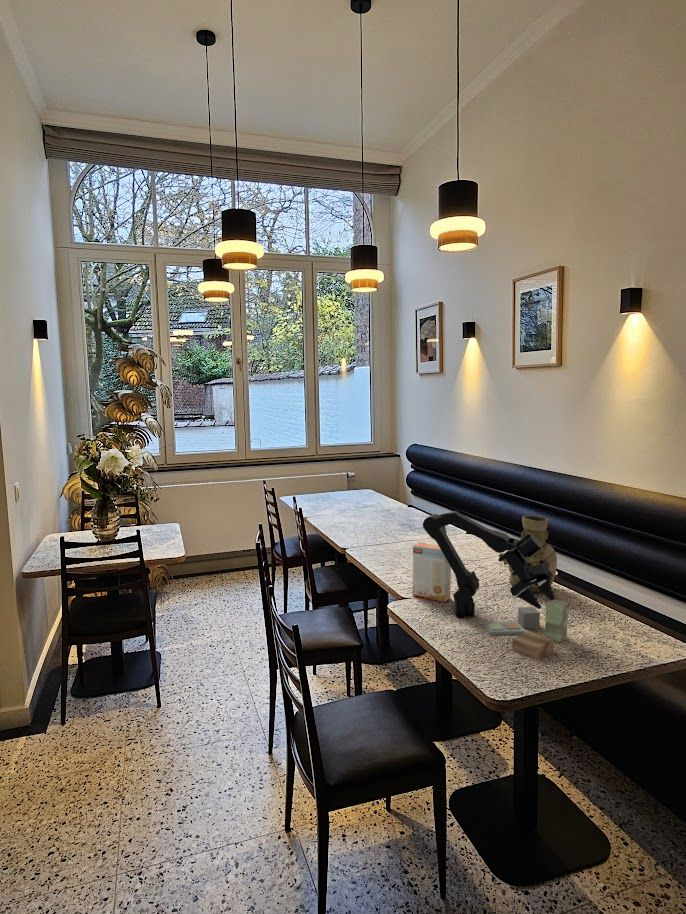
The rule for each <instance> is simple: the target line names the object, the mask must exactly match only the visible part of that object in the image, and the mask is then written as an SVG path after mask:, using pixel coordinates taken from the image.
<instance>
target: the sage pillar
mask: <svg viewBox="0 0 686 914" xmlns="http://www.w3.org/2000/svg"><path fill="white" fill-rule="evenodd" d="M545 604H546V605H545V620H544V621H545V623H544V627H545V628H544V636H545V637H547V638H550V639H553V640H554V642H555V643H558V644H560V643H561V642H563V641H565V640H566V639H568V638H567V637H568V621H569V620H568V619H569V618H568V616H569V614H568V613H569V603H567V602H564V601H561V600H557V599H555V600H552V601H551V600H550V601H548V602H546V603H545Z"/></svg>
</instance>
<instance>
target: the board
mask: <svg viewBox="0 0 686 914" xmlns="http://www.w3.org/2000/svg"><path fill="white" fill-rule="evenodd" d="M482 626H484V627H483V628H484V629H485V631H486V632H487V633H488V635H489V636H495V635H496V636H497V635H499V636H500V635H521V634H523V633H525V632H526V631H525V630H524V629H523V627H522V626H521V625H520V624H519V623H518V621H491V622H490V621H489V622H488V621H487V622H482Z"/></svg>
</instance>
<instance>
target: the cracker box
mask: <svg viewBox="0 0 686 914" xmlns="http://www.w3.org/2000/svg"><path fill="white" fill-rule="evenodd" d="M451 572H452V568H451V567H450V565H449V563H448V561H447V560H446V558H445V556H444V554H443V553H442V551H441V549H440V547H439V545H438V544H430V543H425V542H417V543H416V544H413V545H412V596H413V597H416V596H419V597H418V598H421V597H424V598H423V599H426V598H429V599H428V600H431V599H433V600H432V601H435V600H438V601H437V602H440V601H441V602H440V603H446V602H447V601H448V600H450V599H451V586H452V585H451V584H452V583H451V582H452V581H451V580H452V578H451V576H452V575H451V574H452V573H451Z"/></svg>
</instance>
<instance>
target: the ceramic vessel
mask: <svg viewBox="0 0 686 914" xmlns="http://www.w3.org/2000/svg"><path fill="white" fill-rule="evenodd" d="M521 520H522V521H521V522H522V527H523V531H521V533H520V539H519V540H521V539H522V538H523V537H525V535H526V534H528V533H530V534H531V535H533V536H535V537H536V538H538V540H539V541H540V542H541V544H542V546H543V548H542V549H541V550H540V551H538V552H537V553H535V554H534V555H533V556H531V557H530V558H529V557H524V556H523V555H522V556H523V557H524V559H525V560H526V561H527V563H529V562H530V563H532V564H533V565H536V564H539V561H540V560H543V559H545V560H546V561H547V562H548V563H549V564H550V566H549V571H550V572H551V573H552V574H553V577H551V578H553V579H552V580H551V586H552V584H553V583H554V580H555V577H556V575H557V574H556V573H557V566H558V557H557V553H556V551H555V549H554V547H553V546H552V545H550V544H549V543H547V542H546V541H547V540H548V538H549V530H547V528H548V524H549V519H548V518H546V517H544V516H539V515H523V516H522V519H521ZM514 549H515V548H514ZM514 549H513V550H514ZM504 553H505V552H502V554H504ZM503 565H504V566H507V565H508V563H507V562H506V560H504V561H503ZM508 571H509V573H510V576H509V578H508V580H509V583H510V585H511V587H512V586H514V585H515V584H516V583H517V582H519V581H520V580H519V579H518V577H517V576H516V575H515V576H513V575H512V573H513V570H512V569H511V568H510V566H509V565H508ZM530 587H531V586H530ZM537 587H539V586H536V585H535V584H534V585H532V592H533V594H541V593H542V592H541V591H540V590H539V589H538V588H537ZM542 594H543V593H542Z"/></svg>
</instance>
